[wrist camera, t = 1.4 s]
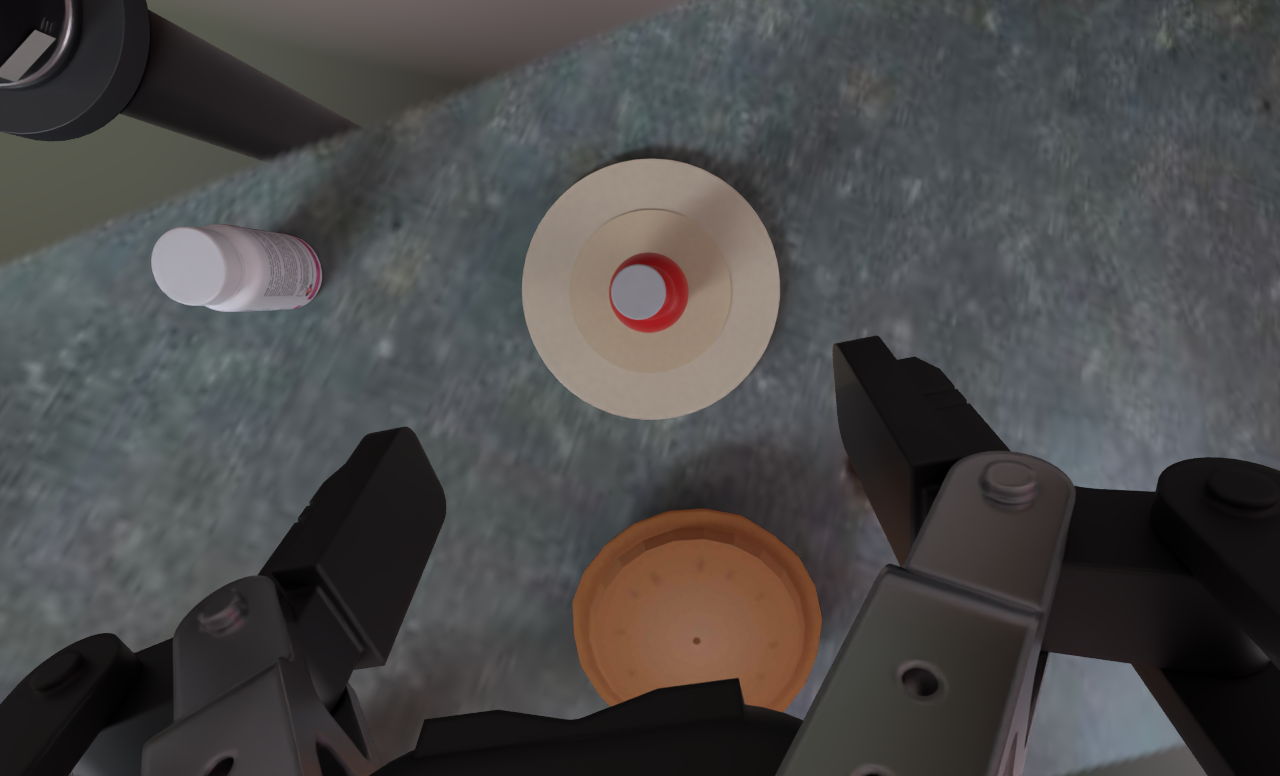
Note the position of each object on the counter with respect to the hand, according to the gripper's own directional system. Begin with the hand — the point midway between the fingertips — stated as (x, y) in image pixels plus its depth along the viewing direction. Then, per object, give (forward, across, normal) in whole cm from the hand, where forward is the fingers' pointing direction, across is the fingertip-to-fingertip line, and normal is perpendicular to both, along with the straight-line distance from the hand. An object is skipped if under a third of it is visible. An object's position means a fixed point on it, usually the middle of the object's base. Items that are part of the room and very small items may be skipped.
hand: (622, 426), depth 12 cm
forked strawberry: (+26, +1, +8) cm, 27 cm away
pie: (+20, +2, +27) cm, 34 cm away
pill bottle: (+28, +24, +2) cm, 37 cm away
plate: (+27, +1, +8) cm, 28 cm away
